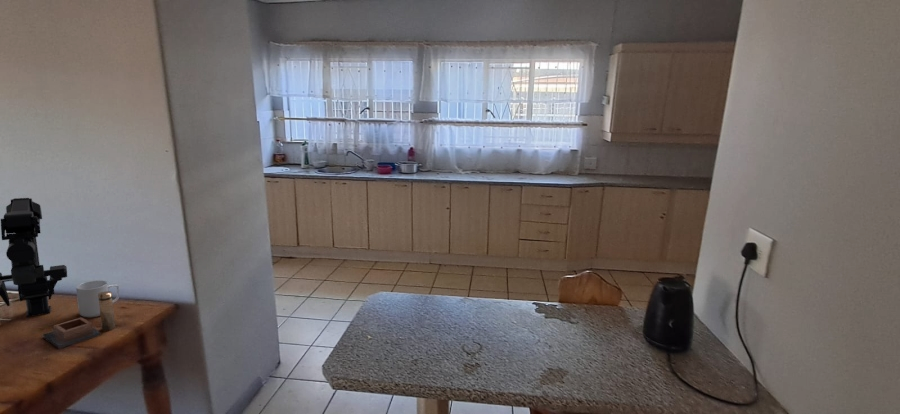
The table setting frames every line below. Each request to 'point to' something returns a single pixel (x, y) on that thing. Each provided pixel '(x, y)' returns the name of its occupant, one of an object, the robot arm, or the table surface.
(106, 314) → the gold metallic cylinder
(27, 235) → the robot arm
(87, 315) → the mug
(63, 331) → the frame
